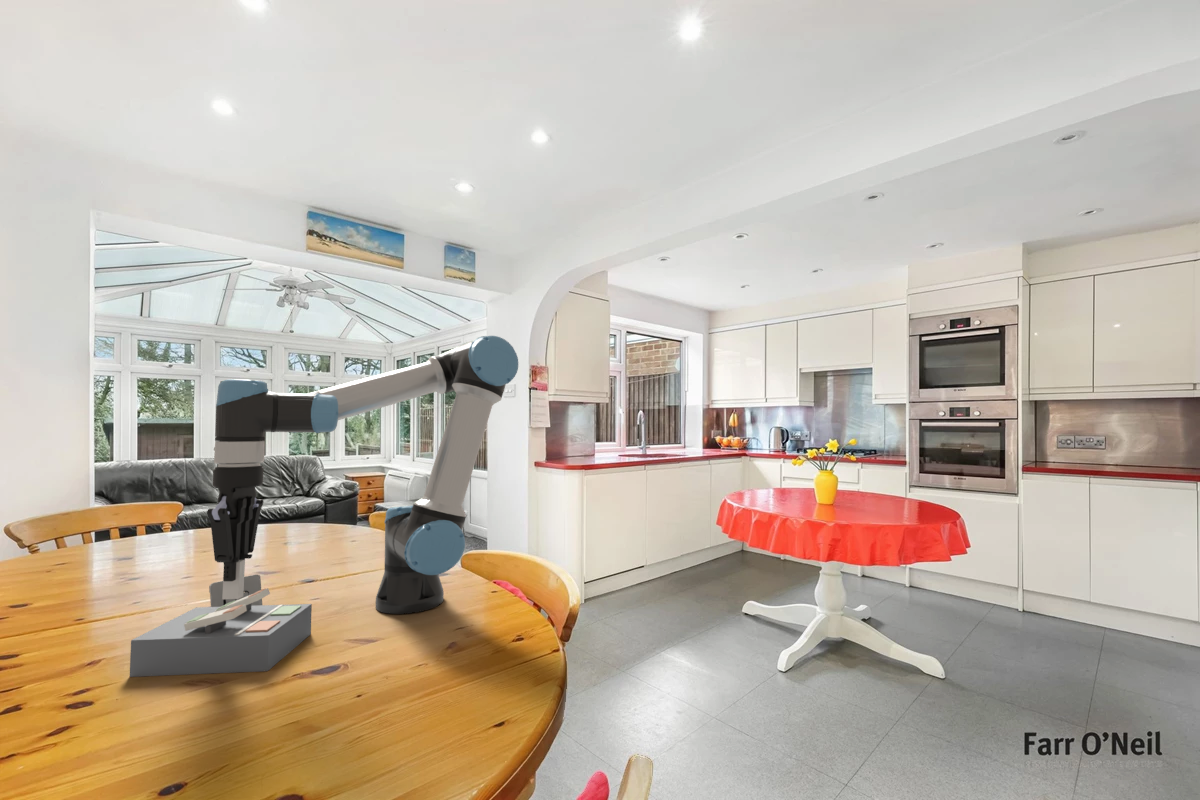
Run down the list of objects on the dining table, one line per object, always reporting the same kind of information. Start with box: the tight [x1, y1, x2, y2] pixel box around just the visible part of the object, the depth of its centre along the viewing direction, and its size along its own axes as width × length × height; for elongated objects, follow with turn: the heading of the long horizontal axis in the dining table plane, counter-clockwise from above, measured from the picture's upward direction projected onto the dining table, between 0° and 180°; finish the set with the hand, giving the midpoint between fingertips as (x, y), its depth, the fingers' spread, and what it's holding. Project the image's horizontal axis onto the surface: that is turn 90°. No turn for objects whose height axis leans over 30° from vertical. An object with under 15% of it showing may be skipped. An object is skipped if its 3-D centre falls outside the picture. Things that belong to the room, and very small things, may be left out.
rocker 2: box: [214, 587, 271, 612], centre depth 101 cm, size 8×4×1 cm, turn 96°
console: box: [129, 603, 313, 678], centre depth 96 cm, size 22×16×7 cm
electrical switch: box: [208, 574, 263, 607], centre depth 113 cm, size 9×5×9 cm, turn 141°
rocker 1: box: [184, 604, 247, 631], centre depth 93 cm, size 8×4×1 cm, turn 96°
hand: (232, 597), depth 93 cm, fingers closed
